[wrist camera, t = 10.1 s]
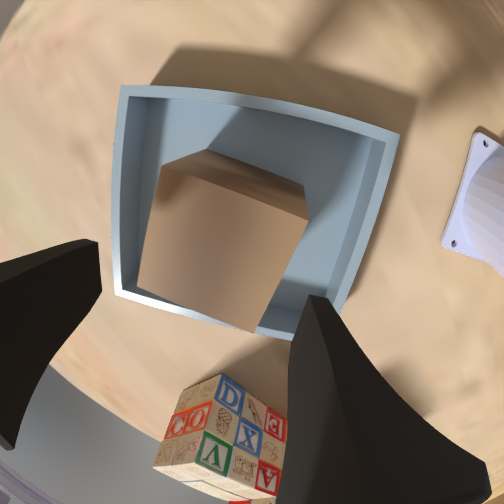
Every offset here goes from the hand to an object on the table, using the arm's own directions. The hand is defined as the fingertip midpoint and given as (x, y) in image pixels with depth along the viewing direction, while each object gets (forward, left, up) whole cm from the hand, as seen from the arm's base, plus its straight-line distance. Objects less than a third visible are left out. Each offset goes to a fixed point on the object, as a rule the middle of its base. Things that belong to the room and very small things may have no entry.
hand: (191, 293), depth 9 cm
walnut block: (0, 0, -9) cm, 9 cm away
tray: (0, 0, -9) cm, 9 cm away
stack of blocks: (-7, +24, -10) cm, 26 cm away
